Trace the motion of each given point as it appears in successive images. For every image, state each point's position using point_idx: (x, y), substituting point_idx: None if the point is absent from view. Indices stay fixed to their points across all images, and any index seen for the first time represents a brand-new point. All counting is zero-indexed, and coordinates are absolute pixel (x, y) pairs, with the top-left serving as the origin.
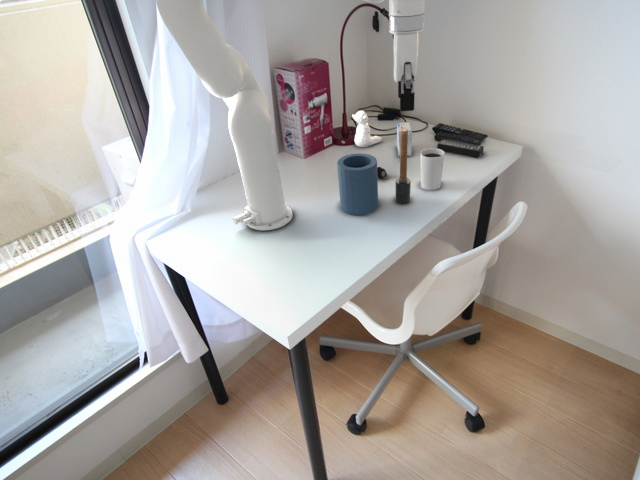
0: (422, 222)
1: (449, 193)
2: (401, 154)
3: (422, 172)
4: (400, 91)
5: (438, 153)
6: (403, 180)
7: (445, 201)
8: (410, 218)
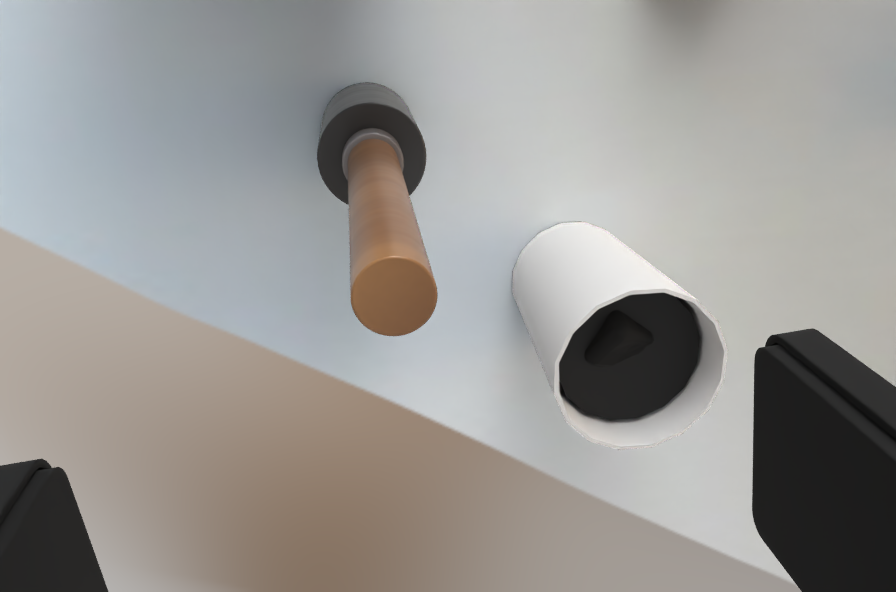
0: (130, 265)
1: (477, 382)
2: (353, 199)
3: (560, 266)
4: (815, 426)
5: (690, 392)
6: (343, 166)
7: (384, 367)
8: (160, 195)
